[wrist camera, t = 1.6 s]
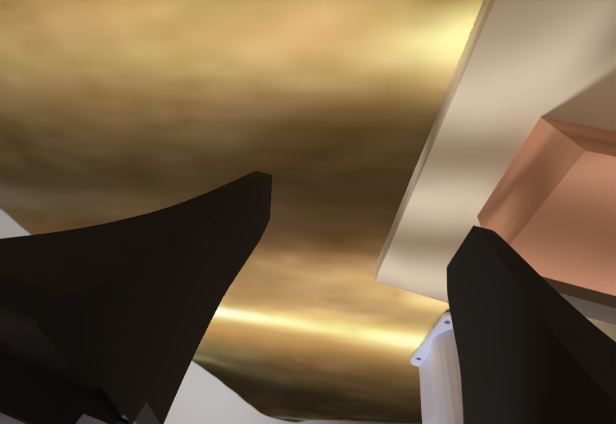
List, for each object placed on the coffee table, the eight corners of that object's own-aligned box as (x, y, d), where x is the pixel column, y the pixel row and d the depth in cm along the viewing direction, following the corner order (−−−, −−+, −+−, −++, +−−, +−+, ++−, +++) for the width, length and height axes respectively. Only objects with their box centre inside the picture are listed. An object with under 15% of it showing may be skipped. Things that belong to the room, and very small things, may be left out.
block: (586, 243, 16) (632, 300, 13) (477, 216, 17) (494, 264, 13) (686, 145, 12) (785, 191, 9) (540, 116, 13) (585, 150, 10)
